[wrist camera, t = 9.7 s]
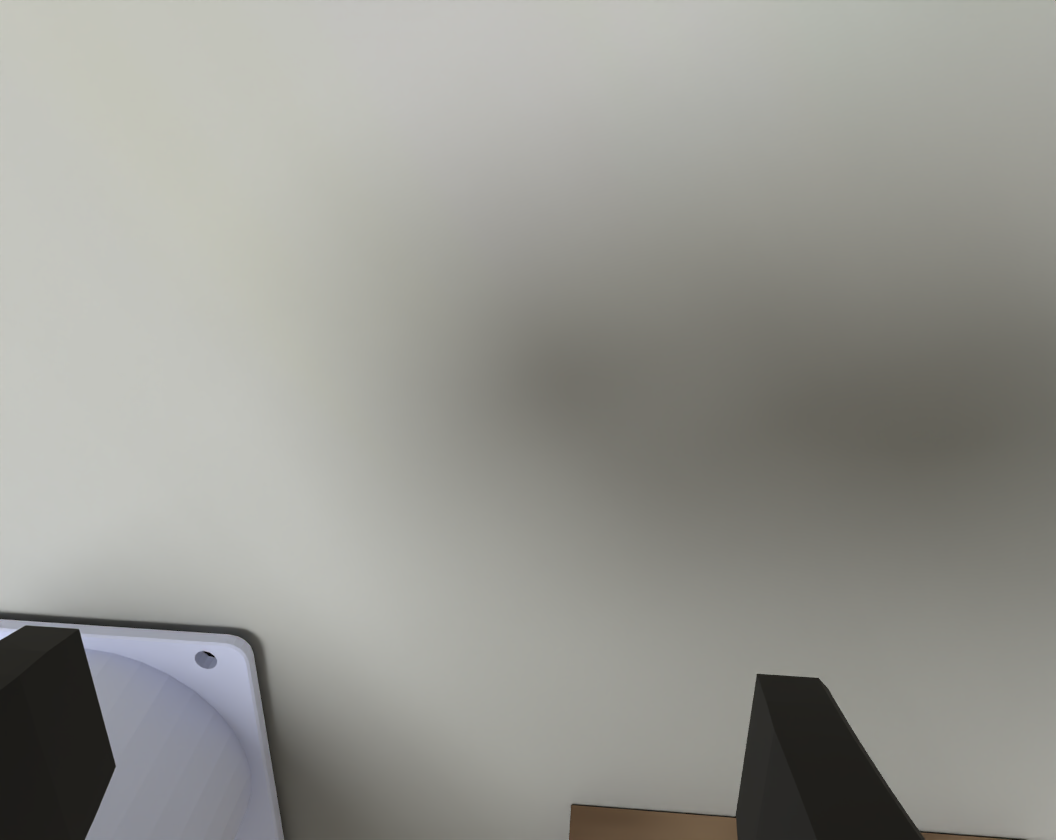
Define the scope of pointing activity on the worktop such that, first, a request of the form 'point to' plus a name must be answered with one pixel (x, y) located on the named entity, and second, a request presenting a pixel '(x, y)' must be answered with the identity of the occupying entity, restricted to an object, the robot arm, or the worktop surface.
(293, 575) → the worktop surface
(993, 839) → the gear board
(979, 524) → the worktop surface
